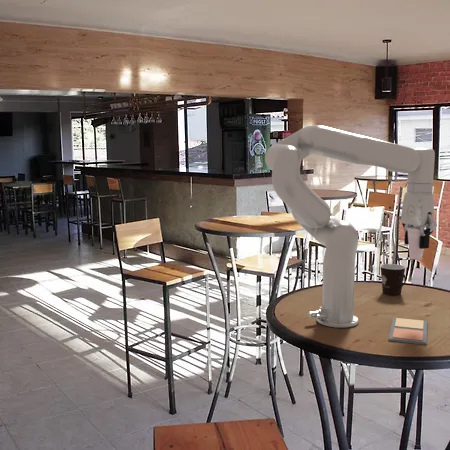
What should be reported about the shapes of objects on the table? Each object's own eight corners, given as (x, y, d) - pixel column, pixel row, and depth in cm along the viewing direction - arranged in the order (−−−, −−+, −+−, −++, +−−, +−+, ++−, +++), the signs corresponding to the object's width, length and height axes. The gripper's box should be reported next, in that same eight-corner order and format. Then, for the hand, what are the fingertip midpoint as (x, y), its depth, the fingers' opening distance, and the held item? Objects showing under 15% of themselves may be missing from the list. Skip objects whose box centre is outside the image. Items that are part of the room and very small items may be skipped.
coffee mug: (378, 289, 215) (379, 263, 213) (402, 290, 214) (403, 264, 212) (382, 298, 204) (383, 271, 202) (407, 299, 202) (408, 271, 201)
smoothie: (403, 259, 179) (405, 214, 177) (407, 255, 184) (409, 211, 182) (424, 261, 176) (427, 215, 174) (428, 257, 181) (430, 213, 179)
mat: (426, 344, 159) (426, 341, 158) (388, 340, 162) (388, 337, 162) (427, 322, 177) (427, 319, 177) (393, 319, 180) (393, 316, 180)
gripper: (391, 186, 183) (388, 242, 186) (429, 191, 167) (425, 252, 170) (411, 186, 186) (407, 240, 189) (449, 190, 170) (445, 250, 173)
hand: (416, 245), depth 179 cm, fingers closed on smoothie, 6 cm apart
